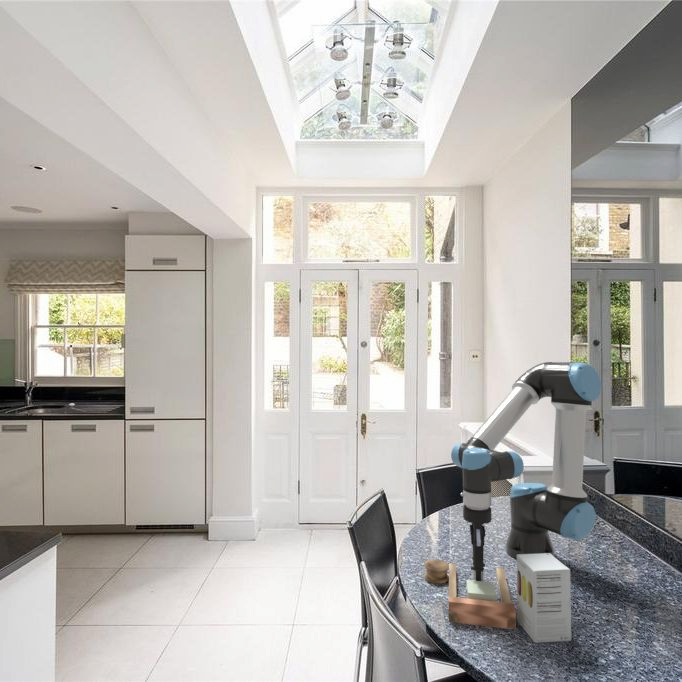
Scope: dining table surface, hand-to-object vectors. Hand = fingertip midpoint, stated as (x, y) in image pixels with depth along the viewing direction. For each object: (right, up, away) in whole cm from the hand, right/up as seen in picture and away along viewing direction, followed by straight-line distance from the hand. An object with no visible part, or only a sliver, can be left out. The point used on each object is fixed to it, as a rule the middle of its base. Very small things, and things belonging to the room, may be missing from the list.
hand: (478, 592), depth 129 cm
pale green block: (-1, -2, -5) cm, 6 cm away
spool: (-9, -3, +13) cm, 16 cm away
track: (0, -2, +1) cm, 2 cm away
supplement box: (+12, -2, -15) cm, 19 cm away
